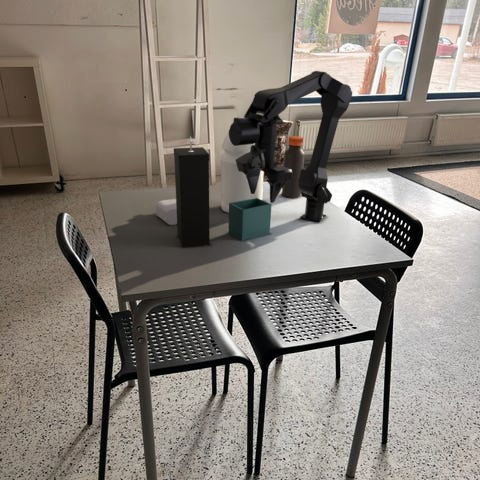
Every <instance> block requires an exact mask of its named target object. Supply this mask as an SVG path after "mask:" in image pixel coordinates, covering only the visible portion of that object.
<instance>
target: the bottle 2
mask: <svg viewBox="0 0 480 480" xmlns="http://www.w3.org/2000/svg"><path fill="white" fill-rule="evenodd" d="M287 143H288V144H287V145H288V148H287V149H286V150H285V151H284V158H283V167H286V168H289V169H291V170H292V172H293V174H292V180H289V181H288V182H286V183H285V184H284V186H283V187H282V189H281V195H282V197H284V198H288V199H297V198H300V197H301V191H300V189H299V188H298V185H299V182H298V180H299V177H300V172H301V170H302V169H304V166H305V165H304V164H305V152H304V150H303V149H302V147H303V145H304V137H302V136H299V135H291V136H289V137H288V142H287Z"/></svg>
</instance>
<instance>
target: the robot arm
mask: <svg viewBox="0 0 480 480" xmlns="http://www.w3.org/2000/svg"><path fill="white" fill-rule="evenodd" d="M315 92H316V93H317V94H318V95H319V96H320V109H321V114H322V116H321V120H320V124H319V127H318V131H317V134H316V135H317V136H316V139H315V142H314V147H313V150H312V155H311V158H310V162H309V164H308V165H307V167H306V168H305V169H304V168H303V169H302V170H301V172H300V177H299V180H298V182H299V185H298V188H299V189H300V191H301V195H300V197H302V198H305V199H306V201H305V210H304V214H302V216H300V219H301V220H307V221H311V222H316V223H321V222H322V221H323V220H324V219H325V218H326V217H327V214H324V208H325V204H328V203H330V202H331V200H332V198H333V194H332V192H331V191H330V190H329V188H328V187H327V186H328V181H329V179H328V174H327V164H328V161H329V157H330V154H331V150H332V146H333V143H334V139H335V135H336V132H337V128H338V124H339V122H340V118H341V117H343V115H344V114H345V113H346V112H347V110H348V109H349V106H350V103H351V101H352V98H353V91H352V88H351V86H350V85H349V84H345V83H343V82H341V81H340V80H338V79H336V78H334V77H332V75H330V74H329V73H328V72H326V71H320V70H314V71H312V72H310V73H309V74H307V75H305V76H303V77H301V78H298V79H297V80H294V81H291V82H290V83H287V84H286V85H284V86H281V87H276V88H267V89H262V90H258V91H257V92H255V94H254V97H253V100H252V101H251V103H250V105H249V107H248V108H247V110H246V112H245V113H244V115H243V117H244V118H240V117H233V119H234V123H233V122H232V123H231V125H230V126H229V129H228V132H229V139H230V141H231V143H232V144H233V145H234V146H239V145H247V144H254V143H255V145H251V148H250V152H249V153H246V154H244V155H243V156H241V157H239V158H237V159H236V164H237V168H238V171H239V172H240V171H241V172H243V173H244V174H245V175H246V178H247V181H248V184H249V188H250V192H251V194H255V191H256V188H257V183H258V179H259V175H260V171H263V172H264V173H265V174H266V177H267V179H266V182H267V184H268V185H269V203H270V204H272V203H275V201H276V200H277V197H278V196H279V194H280V193H281V192H282V187H283V186H284V184H285V183H286V182H288V181H289V180H292V174H293V172H292V170H291V169H289V168H286V167H284V165H281V166H280V165H279V166H278V161H277V160H276V159H275V158H276V151H279V148H280V147H279V146H278V145H277V144H276V141H277V128H278V125H283V124H284V123H285V121H284V120H283V119H282V118H281V117H280V114H282V113H283V112H284V111H286V109H287V108H288V106H289V105H291V104H292V103H294V102H296V101H298V100H301V99H302V98H304V97H306V96H308V95H311V94H313V93H315Z"/></svg>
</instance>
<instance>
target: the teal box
mask: <svg viewBox="0 0 480 480" xmlns="http://www.w3.org/2000/svg"><path fill="white" fill-rule="evenodd" d="M271 218H272V203H271V202H268V201H266V200H263V199H262V200H261V199H259V198H253V199H248V200H243V201H238V202H233V203H229V213H228V234H230V235H232V236H233V237H235V238H237V239H238V240H240V241H242V242H243V241H245V240H246V241H247V240H250V239H255V238H259V237H263V236H267V235H270V234H271V233H270V232H271V220H272V219H271Z"/></svg>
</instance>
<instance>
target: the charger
mask: <svg viewBox="0 0 480 480" xmlns="http://www.w3.org/2000/svg"><path fill="white" fill-rule="evenodd" d="M155 215H156V216H157V217H159V218H160V219H161V220H162V221H164V222H165V223H166V224H167V225H169V226H173V225H177V208H176V198H172V199H161V200H158V201H157V202H156V203H155Z"/></svg>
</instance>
